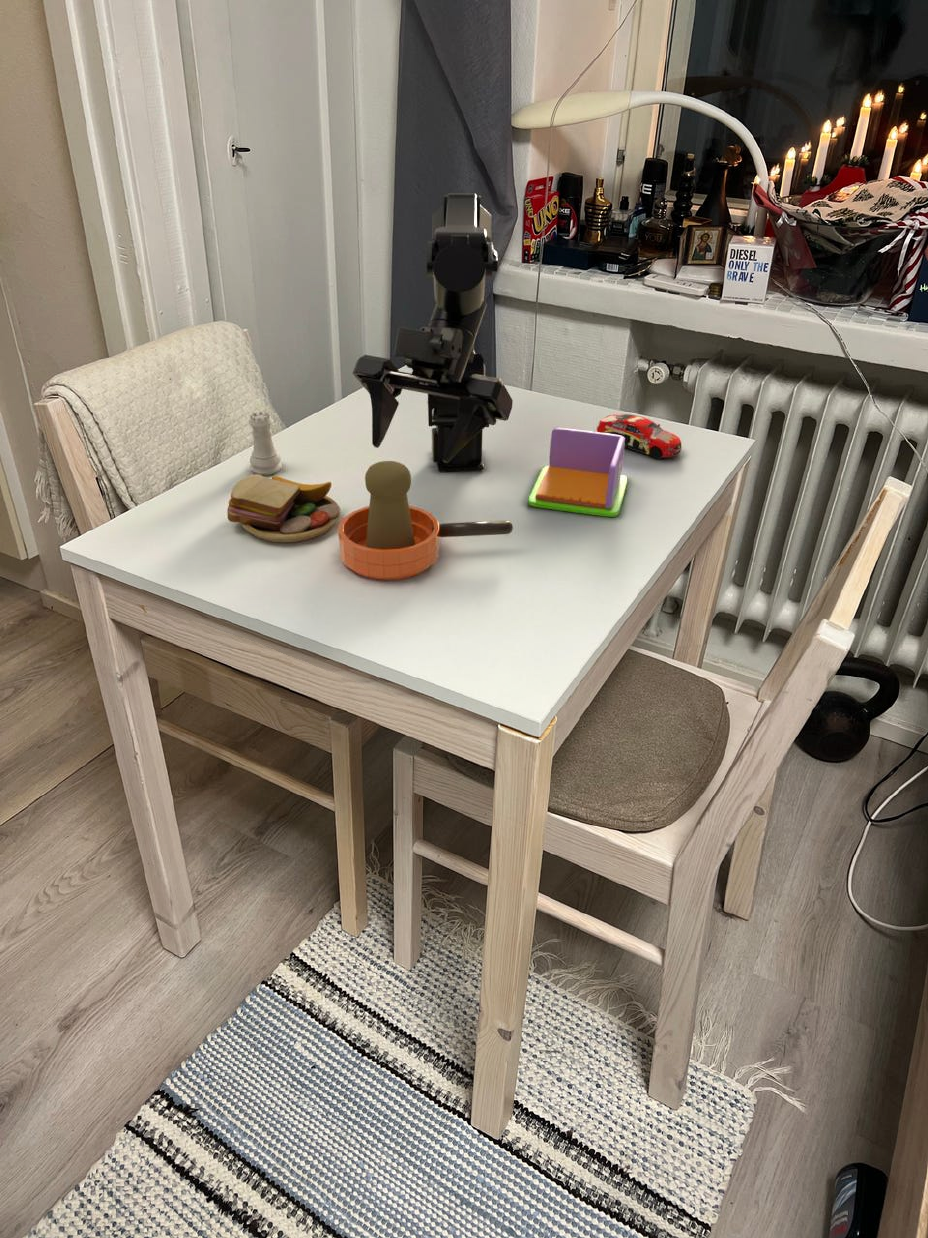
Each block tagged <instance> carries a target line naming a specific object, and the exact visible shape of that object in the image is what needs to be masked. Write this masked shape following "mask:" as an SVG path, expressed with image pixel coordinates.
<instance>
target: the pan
mask: <svg viewBox="0 0 928 1238" xmlns="http://www.w3.org/2000/svg"><path fill="white" fill-rule="evenodd" d="M408 505H409V511H410V517H411V523H412V529H413V535H414V541H415V545H414V546H410V547H405V548H401V549H386V550H382V549H374V548H368V547H366V539H367V528H368V517H369V506H370V505H367V506H363V507H361V508H358V509H356V510H353V511H351V512H350V513H348V514H347V515H345V516H344V517H343V518H342V519H341V521H340V523H339V524H338V542H339V556H340V557H339V558H340V560H341V561H342V563H343V565H345V566H346V567H347V568H349V569H351V570H352V571H353V572H354V573H357V574H358V575H360V576H363V577H366V578H369V579H375V580H384V581H389V580H390V581H392V580H402V579H406V578H411V577H415V576H417V575H419V574H422V573H423V572H425V571H426V570H427V569H429V568H430V567H431V566H432V565H434V563H435V562H436V561H437V559H438V557H439V555H440V537H439V525H438V524H439V520H438V519H437V518H436V516H434V515H433V514H432V513H431V512H429V511H427V510H425V509H423V508H421V507H417V506H413V505H411V504H408ZM433 527H434V530H433V532H432V528H433Z"/></svg>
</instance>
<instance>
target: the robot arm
mask: <svg viewBox="0 0 928 1238" xmlns="http://www.w3.org/2000/svg"><path fill="white" fill-rule="evenodd" d="M431 231H432V233H431V235H432V237H431V240H432V241H431V240H429V241H428V245H427V257H426V274H427V275H426V276H427V277H433V292H434V295H433V296H434V301H435V306H434V308H433V312H432V314H431V317H430V320H429V323H428V325H426V324H424V325H423V324H422V326H421V327H420V329H415V328H409V327H403V326H399V327H398V329H397V333H396V340H395V347H394V352H393V356H394V357H397V358H399V357H400V358H405V360H404V362H403V363H404V364H405V366H406V367H407V368H408V369H411V370H412V372H405V371H399V369H398V368H397V367H396V365H395V364H394V363H393V361H392V360H391V359H390V358H387V357H381V356H376V355H368V354H364V355H362V356H360V357H359V358H358V359H357V360H356V362H355V364H354V368H353V370H352V375H353V376H354V377H355V378H356V379H357V380H358V382H359V383H360V384H361V386H362V387H363V388H364V389H365V390H366V391H367V392H368V394H369V397H370V403H371V422H372V423H371V426H372V427H371V436H372V437H371V444H372V446H373V447H374V448H375V449H379V448H380V446H381V444H383V443H382V442H383V441H384V439H385V437H386V435H387V433H388V430H389V427H390V426H391V423H392V421H393V419H394V417H395V414H396V411H397V409H398V407H399V405H400V402H399V401H398V399H396V398H397V397H399V396H400V395H401V394H402V391H403V390H407V391H411V392H416V393H422V394H426V395H427V415H428V416H427V419H428V420H427V421H428V427H432V428H431V457H432V461H433V463H435V464H436V469H437V471H438V472H460V471H461V472H462V471H482V470H484V469H485V465H484V461H483V432H484V431H483V430H484V429H485V428H490V425H491V426H495V425H496V423H497V421H498V420H499V421H504V422H505V421H509V418H510V415H511V412H512V409H513V403H514V401H513V399H512V396H511V395H510V393H509V391H508V389H507V387H506V386H505V384H504V382H503V381H502V379H501V378H500V377H495V376H489V375H486V365H485V359H484V356H483V355H482V354H481V353H476V352H475V341H476V338H477V334H478V332H479V329H480V327H481V323H482V322H483V321H482V320H483V318H484V315H485V313H486V310H487V305H488V304H487V301H486V297H485V288H486V287H485V286H486V279H487V278H493V272H495V273H497V272H498V268H499V267H498V265H499V264H498V263H499V262H498V252H497V251H496V250H495V248H494V247H495V245H493V242H492V214H490V212H488V210H487V209H486V208H484V207H483V206H482V205H481V195H477V194H476V193H457V192H456V193H454V192H453V193H452V192H450V193H448V194H446V195H445V194H444V195H443V204H442V205H441V206H440V207H439V208H438V209H437V210H436V211H435V212H434V213H433V214H432V230H431Z"/></svg>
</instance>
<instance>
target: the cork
mask: <svg viewBox="0 0 928 1238" xmlns="http://www.w3.org/2000/svg"><path fill="white" fill-rule="evenodd" d="M364 482H365V488H366V490H367V492H368V493H369V494H370V498H369V505H368V506H369V517H368V528H367V539H366V547H368V548H374V549H382V550H386V549H401V548H405V547H410V546H414V545H415V541H414V535H413V529H412V523H411V517H410V511H409V505H410V504H409V500H408V493H409V491H410V489H411V485H412V475H411V472H410V470H409V468H408V467H407V466H406V465H405V464H403V463H401V462H398V461H394V460H383V461H378V462H375V463H373V464H372V465H370V466H369V467H368V469H367V471H366V472H365V476H364Z"/></svg>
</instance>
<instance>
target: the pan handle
mask: <svg viewBox="0 0 928 1238" xmlns="http://www.w3.org/2000/svg"><path fill="white" fill-rule="evenodd" d="M438 525H439V538H453V537H477V536H497V535H499V536H500V535H509V534H511V532H513V530H514V526H513V523H512V522H511V521H509V520H489V521H488V520H487V521H468V522H467V521H466V522H446V523H445V522H444V523H441V522H440V523H438ZM433 530H434V527H433V528H432V532H433Z"/></svg>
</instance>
